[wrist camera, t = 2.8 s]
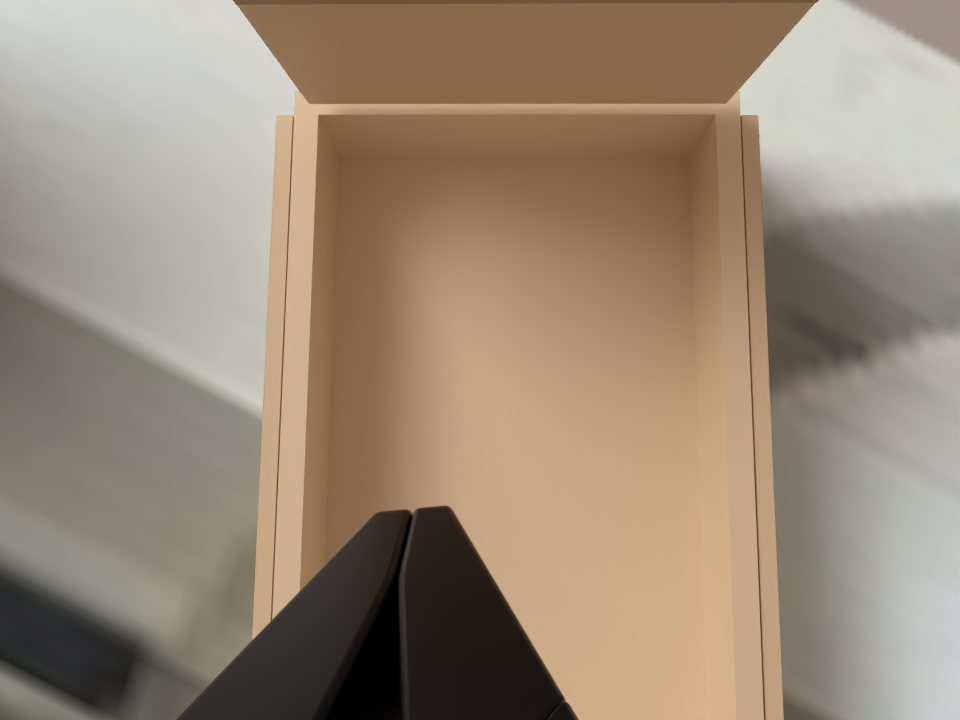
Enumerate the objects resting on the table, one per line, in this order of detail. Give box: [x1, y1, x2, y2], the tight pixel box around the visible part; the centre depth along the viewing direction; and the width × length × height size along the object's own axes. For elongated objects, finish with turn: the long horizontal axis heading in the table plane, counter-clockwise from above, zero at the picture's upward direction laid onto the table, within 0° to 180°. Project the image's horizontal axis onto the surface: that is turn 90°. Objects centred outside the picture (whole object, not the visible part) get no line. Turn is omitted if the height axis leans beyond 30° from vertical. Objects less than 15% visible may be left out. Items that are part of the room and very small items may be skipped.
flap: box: [233, 0, 818, 104], centre depth 16 cm, size 1×10×7 cm, turn 90°
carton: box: [252, 91, 784, 720], centre depth 20 cm, size 18×12×3 cm, turn 179°
